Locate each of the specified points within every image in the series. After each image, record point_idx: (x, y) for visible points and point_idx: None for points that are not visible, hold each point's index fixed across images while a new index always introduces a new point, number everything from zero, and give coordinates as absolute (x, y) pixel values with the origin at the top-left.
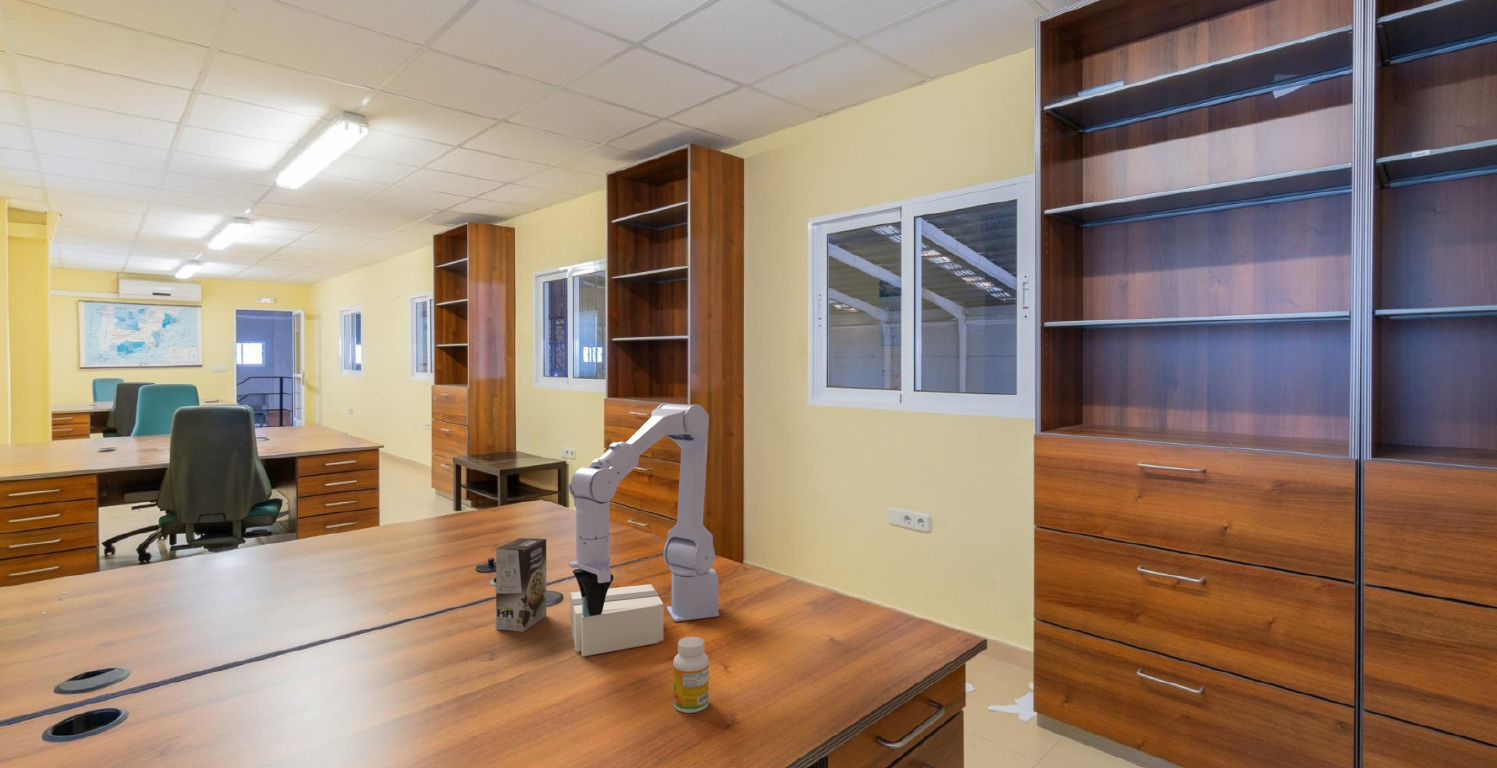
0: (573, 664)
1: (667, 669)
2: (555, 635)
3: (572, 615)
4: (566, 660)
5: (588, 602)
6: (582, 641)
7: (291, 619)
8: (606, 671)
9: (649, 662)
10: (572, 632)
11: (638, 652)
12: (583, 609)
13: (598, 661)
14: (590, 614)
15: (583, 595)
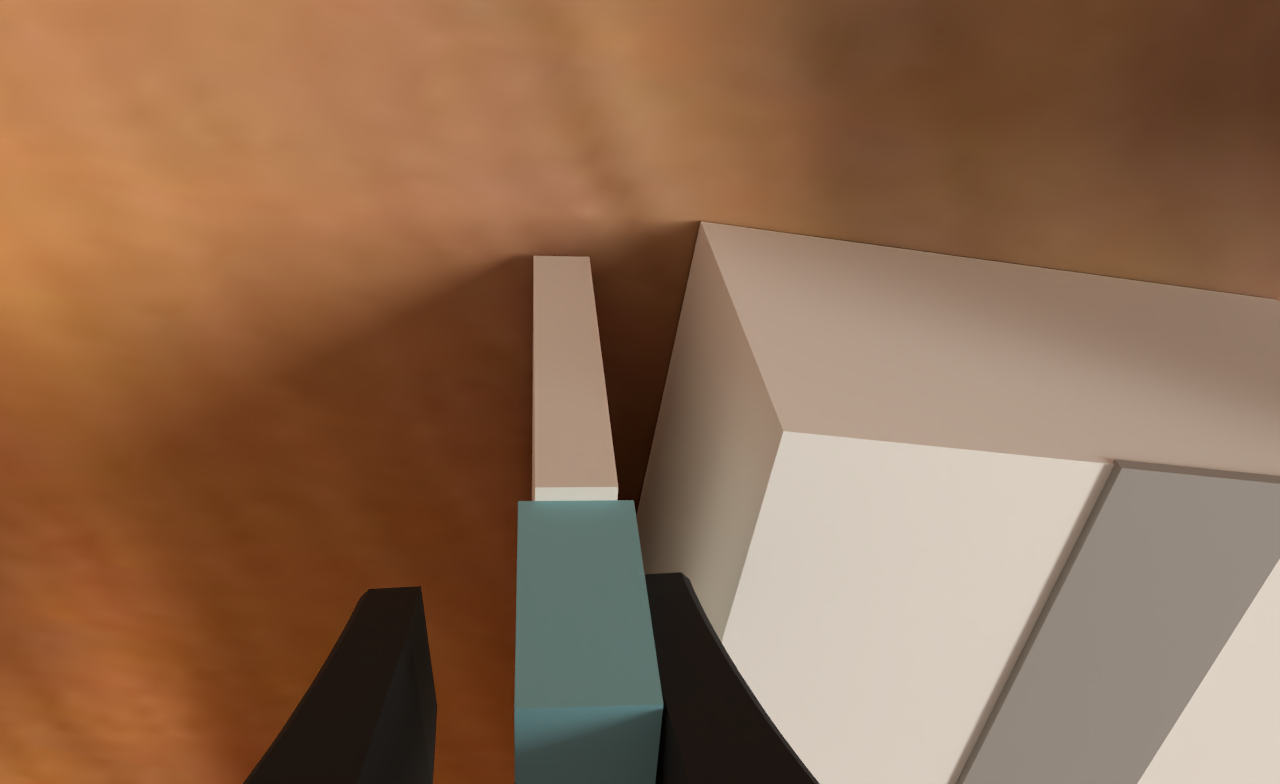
0: (433, 139)
1: (73, 725)
2: (1221, 131)
3: (1184, 376)
4: (560, 96)
5: (267, 751)
6: (544, 321)
7: None
8: (167, 367)
9: (237, 660)
10: (1092, 289)
11: (452, 637)
12: (554, 571)
13: (407, 354)
14: (354, 609)
15: (671, 739)
